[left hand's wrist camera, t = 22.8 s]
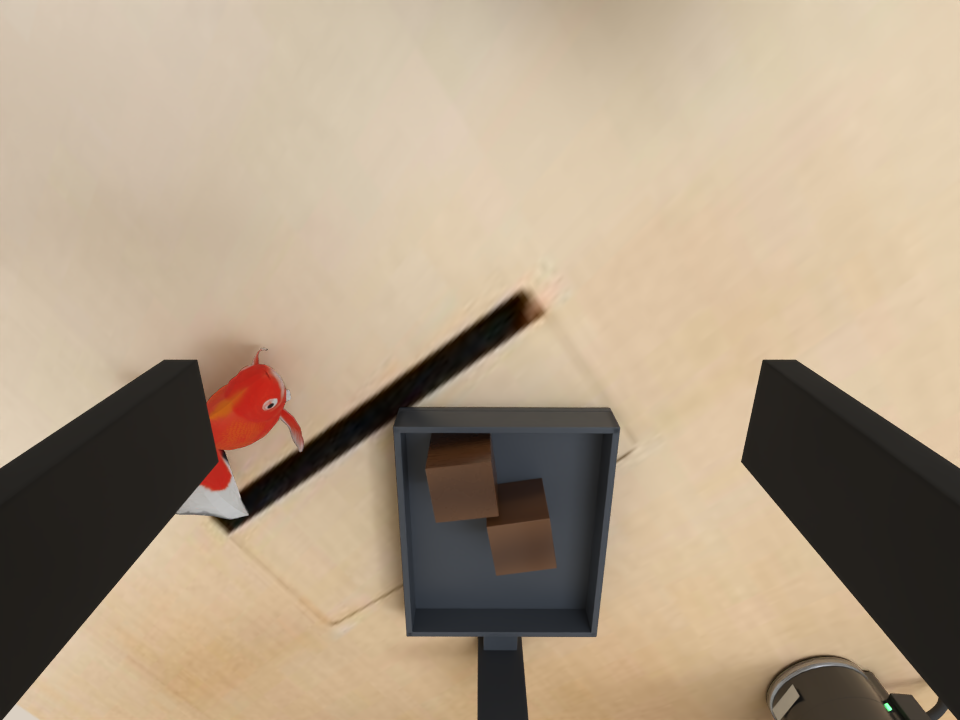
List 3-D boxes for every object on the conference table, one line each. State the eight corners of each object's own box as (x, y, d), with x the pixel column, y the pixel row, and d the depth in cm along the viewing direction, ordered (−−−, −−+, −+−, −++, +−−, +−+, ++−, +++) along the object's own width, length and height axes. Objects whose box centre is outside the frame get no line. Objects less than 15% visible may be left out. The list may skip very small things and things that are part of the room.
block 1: (431, 432, 40) (424, 469, 36) (489, 425, 40) (491, 461, 35) (440, 482, 42) (435, 523, 37) (497, 475, 42) (499, 516, 37)
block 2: (485, 485, 42) (486, 527, 37) (542, 477, 42) (549, 518, 37) (494, 530, 44) (496, 576, 39) (548, 523, 43) (557, 568, 39)
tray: (399, 407, 40) (374, 484, 31) (610, 407, 40) (649, 485, 31) (413, 648, 49) (398, 764, 40) (585, 649, 49) (609, 764, 40)
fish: (374, 466, 36) (245, 541, 28) (256, 499, 45) (132, 563, 37) (314, 321, 36) (166, 355, 28) (207, 383, 45) (72, 422, 37)
